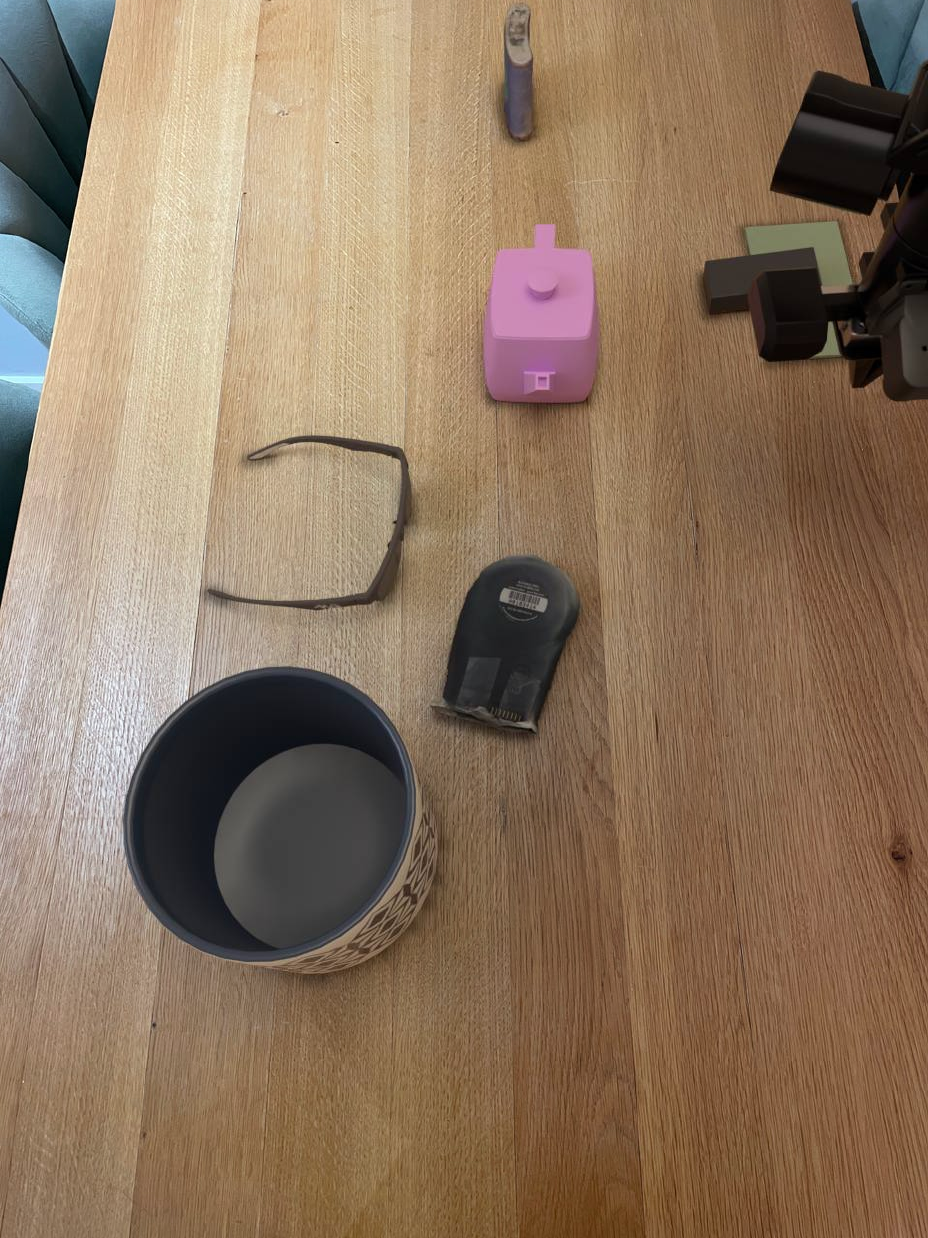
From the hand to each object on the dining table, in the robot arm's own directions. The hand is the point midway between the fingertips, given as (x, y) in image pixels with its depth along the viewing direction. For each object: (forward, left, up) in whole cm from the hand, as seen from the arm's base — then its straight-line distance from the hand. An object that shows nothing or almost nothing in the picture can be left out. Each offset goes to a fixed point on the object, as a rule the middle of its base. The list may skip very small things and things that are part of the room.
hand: (856, 383), depth 71 cm
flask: (-11, -51, -13) cm, 54 cm away
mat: (-15, -14, -13) cm, 24 cm away
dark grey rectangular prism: (-15, -14, -11) cm, 23 cm away
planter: (+52, -2, -13) cm, 54 cm away
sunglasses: (+36, -24, -13) cm, 45 cm away
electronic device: (+30, -5, -13) cm, 33 cm away
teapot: (+9, -25, -13) cm, 30 cm away
